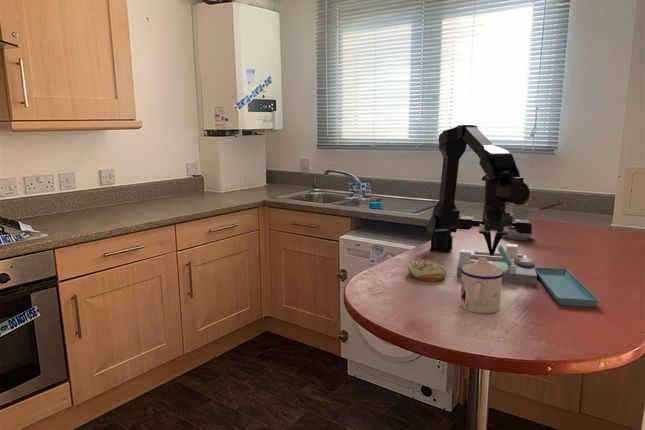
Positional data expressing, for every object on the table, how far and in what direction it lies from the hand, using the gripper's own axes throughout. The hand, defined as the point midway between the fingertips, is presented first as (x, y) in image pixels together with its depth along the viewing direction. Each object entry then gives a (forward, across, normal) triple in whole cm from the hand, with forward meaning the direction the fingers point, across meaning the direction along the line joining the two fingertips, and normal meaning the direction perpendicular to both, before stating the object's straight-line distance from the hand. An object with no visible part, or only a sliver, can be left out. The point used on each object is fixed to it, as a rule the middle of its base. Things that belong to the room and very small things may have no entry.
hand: (491, 255), depth 131 cm
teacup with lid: (+6, -2, -26) cm, 27 cm away
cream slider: (+4, +6, +11) cm, 13 cm away
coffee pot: (+6, +14, +51) cm, 53 cm away
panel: (+6, +1, +6) cm, 8 cm away
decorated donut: (+6, -17, -5) cm, 18 cm away
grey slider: (+4, -7, 0) cm, 8 cm away
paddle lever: (+3, +5, 0) cm, 6 cm away
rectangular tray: (+7, +18, -4) cm, 19 cm away
